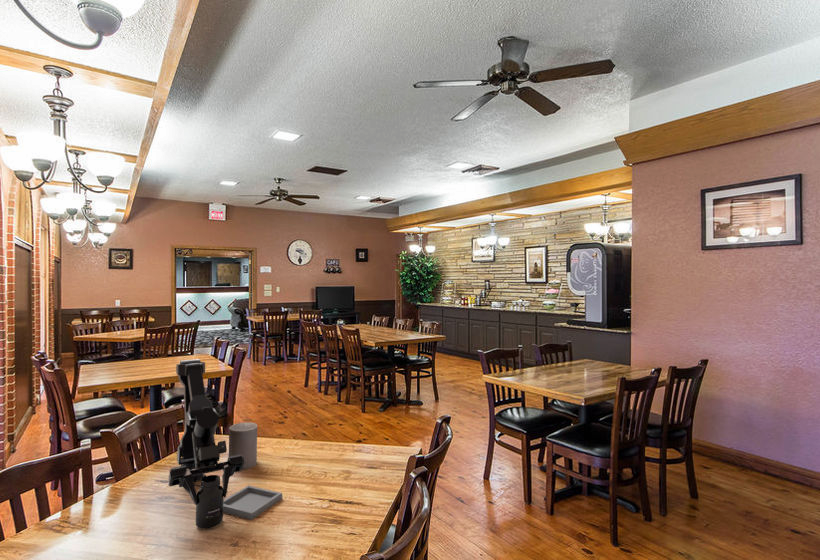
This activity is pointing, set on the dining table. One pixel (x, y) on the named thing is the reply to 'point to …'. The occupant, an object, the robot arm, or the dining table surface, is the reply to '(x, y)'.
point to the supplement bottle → (209, 502)
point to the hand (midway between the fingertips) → (210, 500)
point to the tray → (250, 502)
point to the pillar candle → (244, 442)
